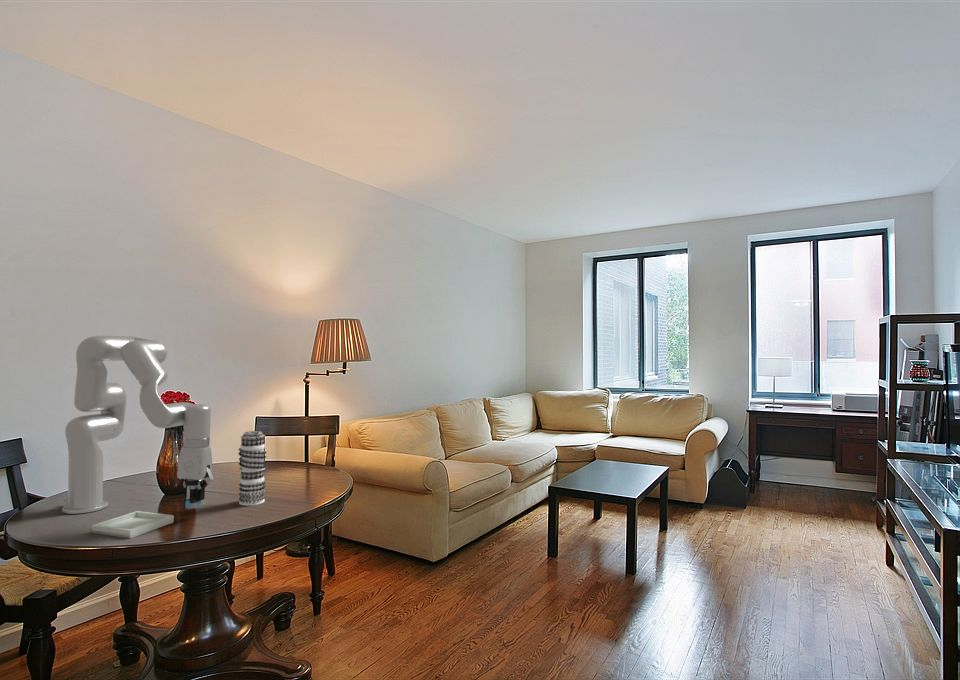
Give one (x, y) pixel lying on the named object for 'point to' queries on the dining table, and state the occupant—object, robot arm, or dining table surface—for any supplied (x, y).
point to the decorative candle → (252, 468)
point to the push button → (191, 494)
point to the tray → (132, 524)
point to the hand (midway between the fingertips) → (194, 499)
